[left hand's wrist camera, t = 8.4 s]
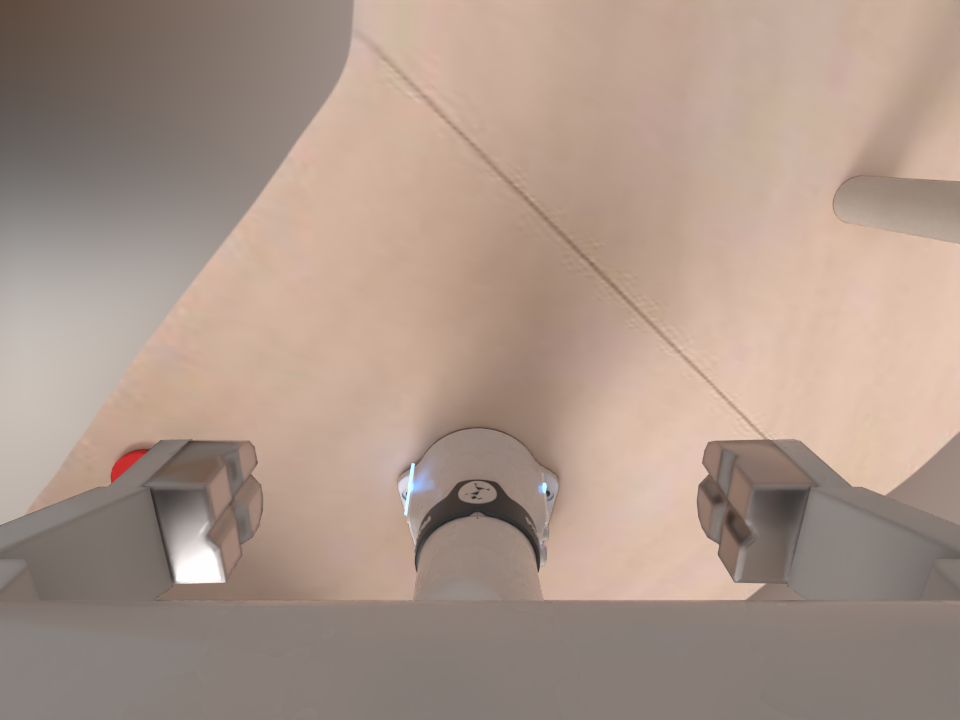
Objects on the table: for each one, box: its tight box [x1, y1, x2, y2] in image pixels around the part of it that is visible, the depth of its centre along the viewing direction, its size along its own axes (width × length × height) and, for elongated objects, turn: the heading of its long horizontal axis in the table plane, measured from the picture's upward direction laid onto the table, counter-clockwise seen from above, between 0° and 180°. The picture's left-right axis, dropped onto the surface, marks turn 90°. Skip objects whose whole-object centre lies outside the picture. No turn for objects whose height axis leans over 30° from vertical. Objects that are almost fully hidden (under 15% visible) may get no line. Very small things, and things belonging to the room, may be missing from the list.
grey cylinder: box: [833, 176, 960, 244], centre depth 46 cm, size 4×4×18 cm
